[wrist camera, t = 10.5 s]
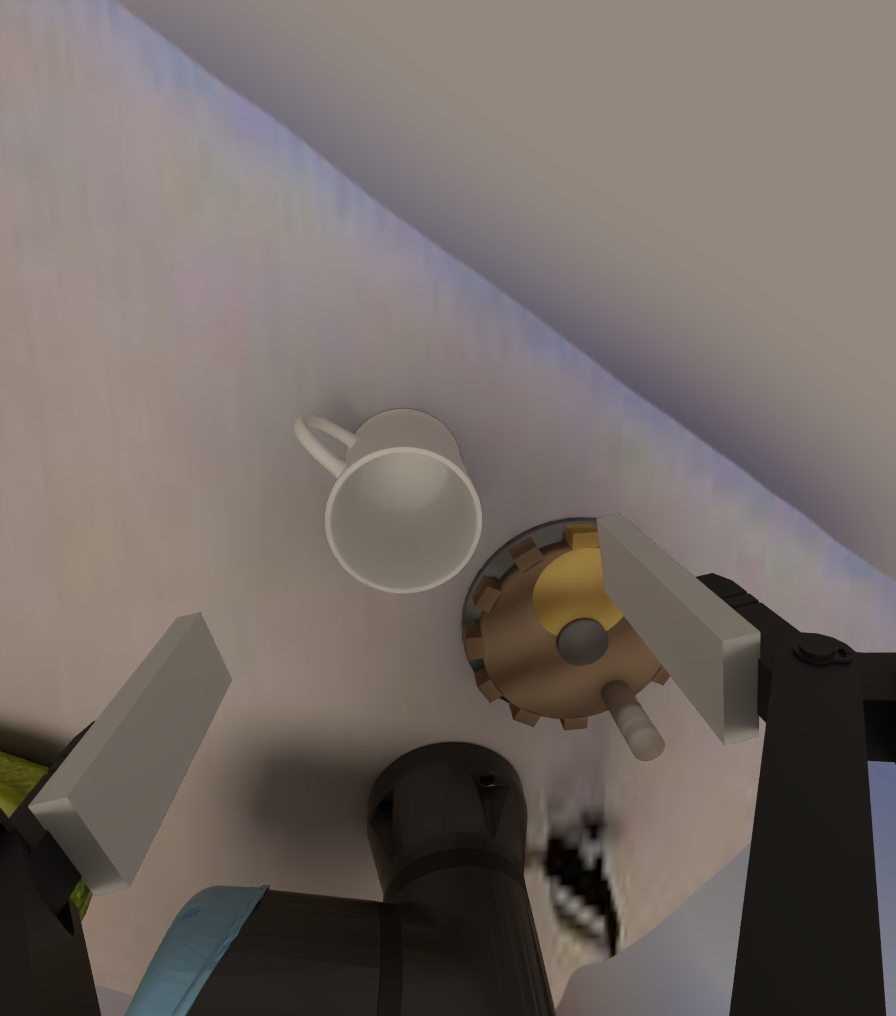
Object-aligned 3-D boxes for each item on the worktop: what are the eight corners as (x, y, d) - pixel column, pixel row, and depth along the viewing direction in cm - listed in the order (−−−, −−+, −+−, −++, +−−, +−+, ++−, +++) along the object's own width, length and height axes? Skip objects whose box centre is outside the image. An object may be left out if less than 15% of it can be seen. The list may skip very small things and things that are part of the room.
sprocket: (420, 603, 39) (425, 665, 31) (623, 479, 37) (678, 514, 29) (531, 747, 45) (557, 827, 37) (711, 646, 43) (775, 710, 35)
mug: (284, 440, 35) (228, 489, 23) (363, 349, 33) (344, 354, 22) (407, 541, 38) (410, 626, 27) (484, 463, 36) (521, 518, 25)
